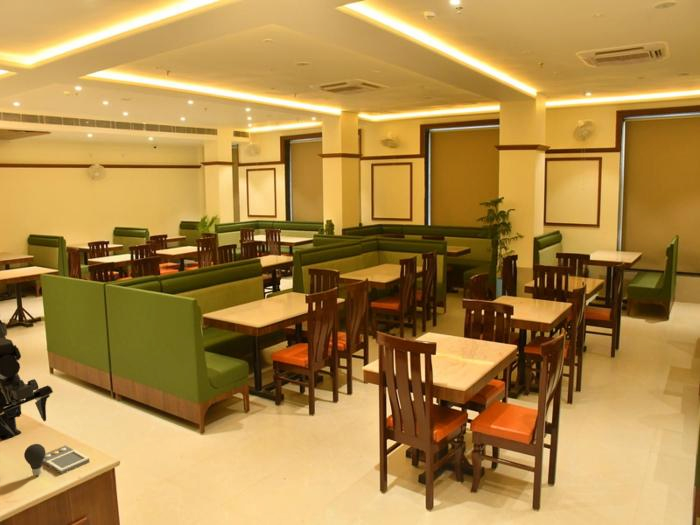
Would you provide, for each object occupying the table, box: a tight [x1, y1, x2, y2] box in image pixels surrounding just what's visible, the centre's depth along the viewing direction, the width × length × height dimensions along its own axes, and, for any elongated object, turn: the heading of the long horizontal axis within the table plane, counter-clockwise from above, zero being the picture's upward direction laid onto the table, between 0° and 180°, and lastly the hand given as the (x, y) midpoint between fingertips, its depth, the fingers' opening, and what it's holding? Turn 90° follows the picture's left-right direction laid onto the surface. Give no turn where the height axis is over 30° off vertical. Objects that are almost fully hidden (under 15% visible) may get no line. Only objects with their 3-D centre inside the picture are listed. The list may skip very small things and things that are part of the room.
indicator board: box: [42, 445, 90, 475], centre depth 183 cm, size 15×9×1 cm, turn 53°
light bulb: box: [23, 443, 46, 477], centre depth 174 cm, size 6×6×10 cm
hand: (30, 427), depth 179 cm, fingers open, 9 cm apart
